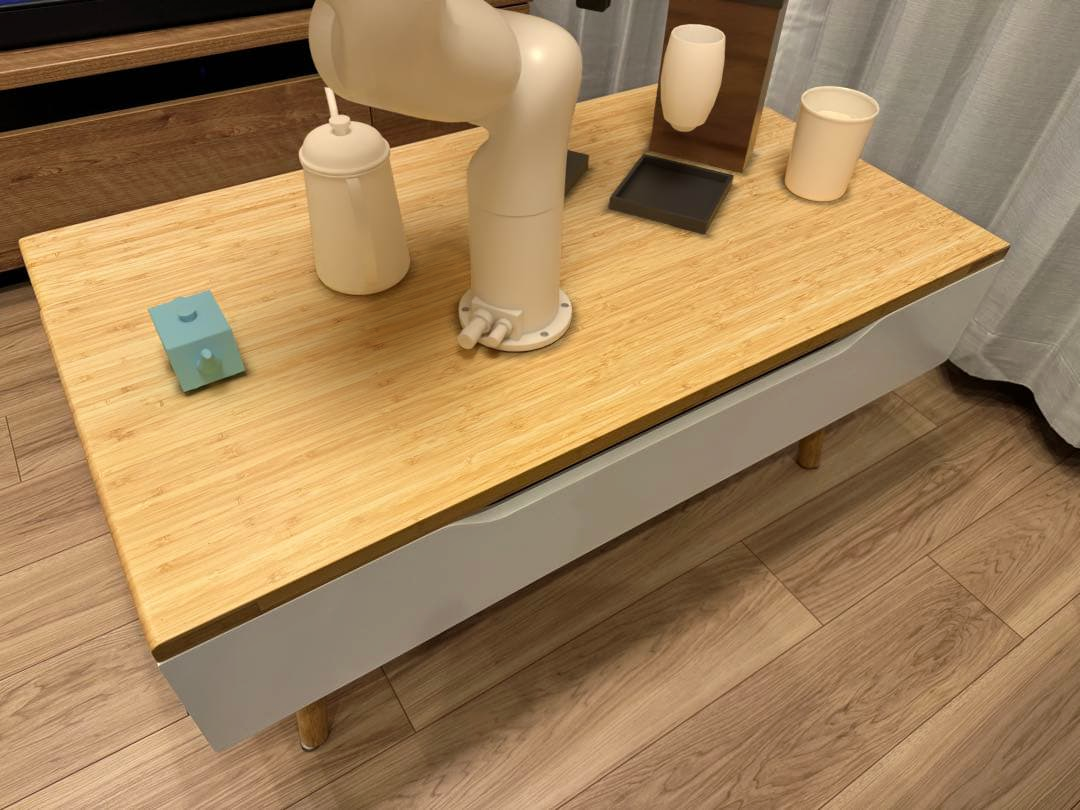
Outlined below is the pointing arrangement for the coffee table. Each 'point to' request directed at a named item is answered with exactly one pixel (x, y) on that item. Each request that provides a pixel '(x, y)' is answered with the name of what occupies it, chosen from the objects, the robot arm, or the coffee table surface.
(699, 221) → the drip pan
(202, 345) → the teal peg block
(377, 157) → the coffeepot
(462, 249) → the coffee table surface
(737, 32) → the column
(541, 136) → the robot arm
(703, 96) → the cream vase
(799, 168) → the cream open tapered cylinder
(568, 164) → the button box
